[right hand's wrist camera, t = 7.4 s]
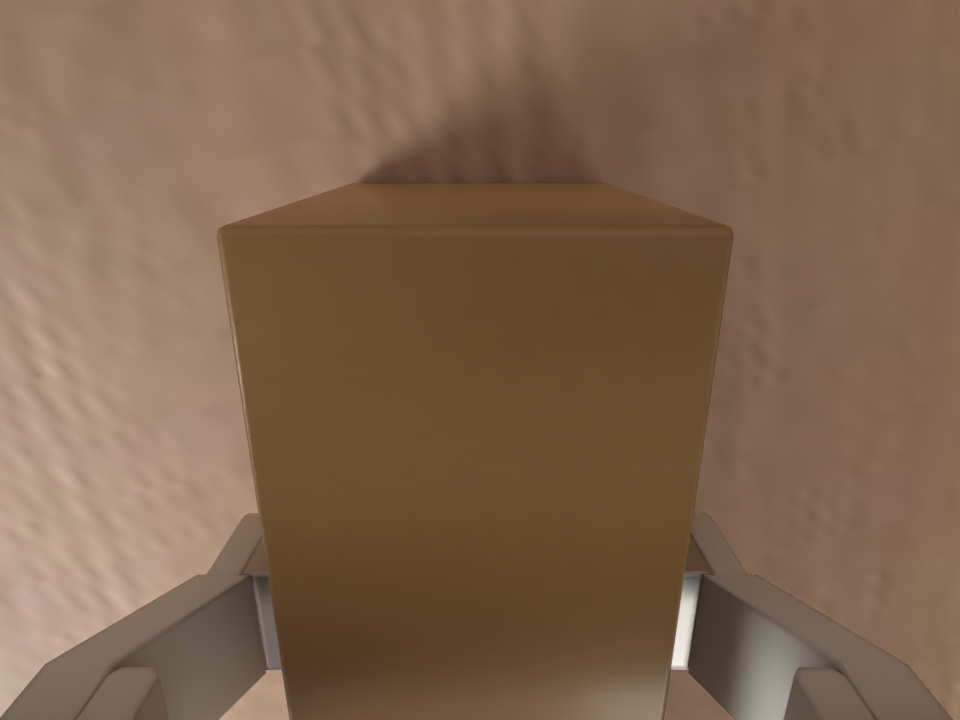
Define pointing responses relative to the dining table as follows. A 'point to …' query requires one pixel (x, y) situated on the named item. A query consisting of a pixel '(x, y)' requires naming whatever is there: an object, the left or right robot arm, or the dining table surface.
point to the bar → (475, 442)
